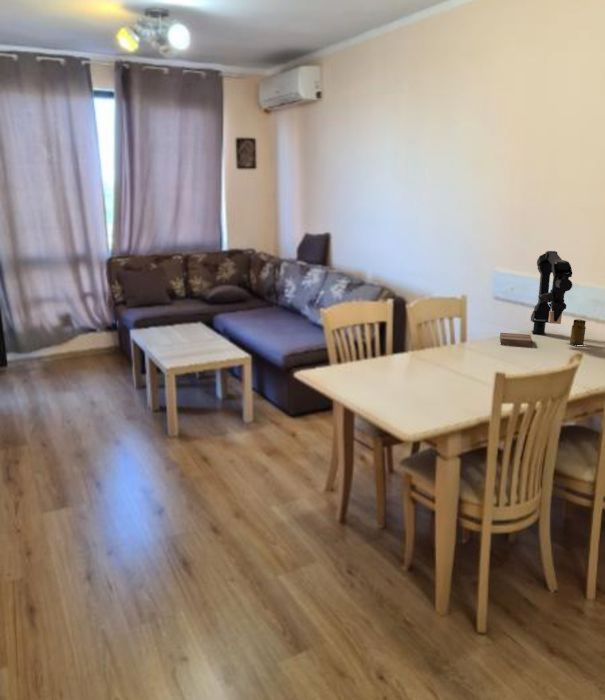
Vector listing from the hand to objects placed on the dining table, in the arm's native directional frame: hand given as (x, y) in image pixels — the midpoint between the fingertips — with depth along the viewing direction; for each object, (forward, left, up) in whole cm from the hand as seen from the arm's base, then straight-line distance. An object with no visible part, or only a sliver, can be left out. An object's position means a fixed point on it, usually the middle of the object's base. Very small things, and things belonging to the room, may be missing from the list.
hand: (554, 320), depth 288 cm
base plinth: (+2, -17, -12) cm, 21 cm away
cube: (0, 0, -1) cm, 1 cm away
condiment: (-4, +12, -12) cm, 18 cm away
